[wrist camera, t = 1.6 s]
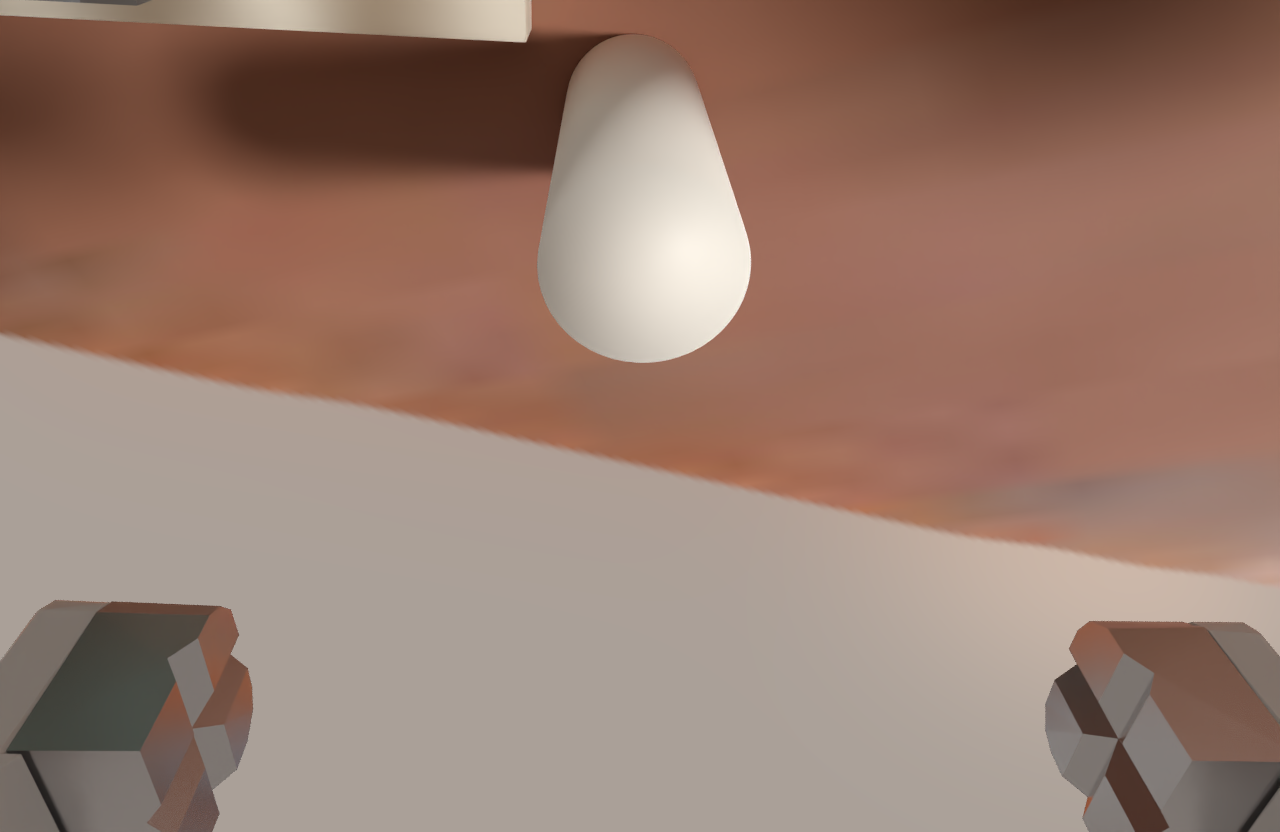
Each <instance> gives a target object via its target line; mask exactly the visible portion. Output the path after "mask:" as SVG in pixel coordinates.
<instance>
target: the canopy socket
mask: <svg viewBox="0 0 1280 832" xmlns="http://www.w3.org/2000/svg"><path fill="white" fill-rule="evenodd" d="M0 15H5V16H25V17H44V18H63V19H83V20H102V21H121V22H140V23H160V24H179V25H198V26H218V27H237V28H256V29H276V30H295V31H314V32H333V33H353V34H372V35H391V36H411V37H430V38H449V39H469V40H488V41H507V42H526V41H527V38H528V36H529V34H530V31H531V29H532V21H531V0H0Z"/></svg>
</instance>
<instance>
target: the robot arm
mask: <svg viewBox="0 0 1280 832" xmlns="http://www.w3.org/2000/svg"><path fill="white" fill-rule="evenodd" d="M238 636H239V633H238V630H237V627H236V624H235V621H234V618H233V614H232V611H231V610H230V609H227V608H224V607H221V606H203V605H181V604H157V603H133V602H111V603H109V602H86V601H62V600H55V601H53V602H52V603H50V604H48V605H46V606H45V607H43V608H41V609H40V610H39V611H37V613H35V615H34V616H33V617H32V619H31V620H30V621H29V623H28V624H27V625H26V627H25V628H24V630H23V631H22V632H21V634H20V635H19V636H18V638H17V639H16V640H15V642H14V643H13V644H12V646H11V647H10V648H9V650H8V651H7V653H6V654H5V655H4V657H3V658H2V659H1V661H0V832H212V831H213V829H214V826H215V824H216V821H217V819H218V816H219V810H218V807H217V804H216V801H215V797H214V794H213V791H212V790H213V789H214V788H215V787H216V786H218V785H219V784H220V783H221V782H222V781H223V780H225V779H226V778H227V777H228V776H230V774H232V773H233V772H234V771H235V770H237V768H238V765H239V763H240V760H241V757H242V755H243V752H244V749H245V746H246V744H247V741H248V735H249V730H250V724H251V718H252V713H253V696H252V684H251V680H250V676H249V671H248V668H247V667H245V666H244V665H243V664H242V663H240V662H239V661H238V660H237V659H235V658H234V657H233V656H232V655H231V652H232V650H233V647H234V645H235V643H236V641H237V638H238ZM1069 650H1070V652H1071V654H1072V656H1073V658H1074V660H1075V662H1076V663H1077V665H1075V666H1074V667H1072V668H1071V669H1070V670H1068V671H1067V672H1065V673H1064V674H1063V675H1061V676H1060V677H1058V678H1057V679H1055V681H1054V683H1053V686H1052V688H1051V691H1050V693H1049V696H1048V698H1047V701H1046V704H1045V707H1046V708H1045V709H1046V711H1045V712H1046V714H1045V718H1046V719H1045V720H1046V721H1045V722H1046V723H1045V724H1046V725H1045V731H1046V735H1047V738H1048V742H1049V746H1050V750H1051V753H1052V756H1053V758H1054V759H1055V762H1056V764H1057V766H1058V769H1059V771H1060V773H1061V775H1062V776H1063V777H1064V778H1065V779H1066V780H1067V781H1069V782H1070V783H1071V784H1073V785H1074V786H1075V787H1076V788H1077V789H1079V790H1080V791H1081V792H1082V793H1083V794H1085V795H1086V796H1087V802H1086V806H1085V810H1084V814H1083V820H1084V822H1085V824H1086V827H1087V829H1088V831H1089V832H1280V656H1279V655H1278V654H1277V653H1276V652H1275V650H1274V649H1273V648H1272V647H1271V646H1270V644H1269V643H1268V642H1267V641H1266V639H1265V638H1264V637H1263V636H1262V635H1261V634H1260V633H1259V632H1258V631H1256V630H1255V629H1253V628H1251V627H1250V626H1248V625H1247V624H1245V623H1241V622H1240V623H1239V622H1237V623H1236V622H1191V623H1184V622H1130V621H1128V622H1127V621H1126V622H1125V621H1121V622H1120V621H1119V622H1118V621H1089V622H1088V623H1087V624H1085V625H1084V626H1083V627H1081V628H1080V629H1079V630H1078V631H1077V633H1076V635H1075V637H1074V639H1073V641H1072V643H1071V645H1070V647H1069Z"/></svg>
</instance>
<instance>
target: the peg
mask: <svg viewBox="0 0 1280 832" xmlns="http://www.w3.org/2000/svg"><path fill="white" fill-rule="evenodd" d="M537 269H538V280H539V284H540V289H541V292H542V295H543V298H544V300H545V303H546V305H547V307H548V309H549V310H550V312H551V314H552V316H553V317H554V318H555V320H556V321H557V322H558V324H559V325H560V326H561V327H562V328H563V329H564V330H565V331H566V333H567V334H569V335H570V336H571V337H572V338H573V339H575V340H576V341H577V342H578V343H580V344H582V345H583V346H585V347H586V348H588V349H590V350H592V351H594V352H596V353H598V354H600V355H603V356H606V357H609V358H612V359H616V360H621V361H626V362H637V363H646V362H658V361H665V360H669V359H673V358H677V357H680V356H682V355H685V354H688V353H690V352H692V351H694V350H696V349H698V348H700V347H702V346H703V345H704V344H706V343H707V342H709V341H710V340H712V339H713V338H714V337H715V336H716V335H717V334H719V333H720V332H721V331H722V330H723V329H724V328H725V327H726V325H727V324H728V323H729V322H730V321H731V319H732V318H733V316H734V315H735V314H736V312H737V311H738V309H739V307H740V305H741V303H742V301H743V299H744V296H745V293H746V290H747V287H748V283H749V278H750V270H751V255H750V246H749V242H748V237H747V234H746V231H745V228H744V225H743V221H742V218H741V215H740V212H739V209H738V206H737V203H736V200H735V197H734V194H733V191H732V188H731V185H730V182H729V179H728V176H727V173H726V170H725V167H724V163H723V160H722V157H721V154H720V151H719V148H718V145H717V142H716V139H715V136H714V133H713V130H712V127H711V124H710V121H709V118H708V115H707V112H706V109H705V105H704V102H703V99H702V96H701V93H700V90H699V87H698V84H697V81H696V79H695V76H694V73H693V71H692V70H691V68H690V66H689V64H688V63H687V62H686V60H685V59H684V58H683V57H682V55H681V54H680V53H679V52H678V51H676V50H675V49H674V48H673V47H672V46H670V45H668V44H667V43H665V42H663V41H661V40H659V39H657V38H654V37H651V36H647V35H640V34H625V35H619V36H616V37H612V38H609V39H607V40H605V41H603V42H601V43H599V44H598V45H596V46H595V47H593V48H592V49H591V50H590V51H589V52H587V53H586V55H585V56H584V57H583V58H582V59H581V60H580V62H579V63H578V65H577V66H576V68H575V70H574V72H573V74H572V76H571V79H570V82H569V85H568V90H567V95H566V100H565V106H564V111H563V117H562V122H561V128H560V134H559V139H558V145H557V150H556V156H555V161H554V167H553V172H552V178H551V183H550V189H549V194H548V200H547V206H546V211H545V217H544V222H543V228H542V233H541V239H540V244H539V250H538V261H537Z"/></svg>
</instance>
